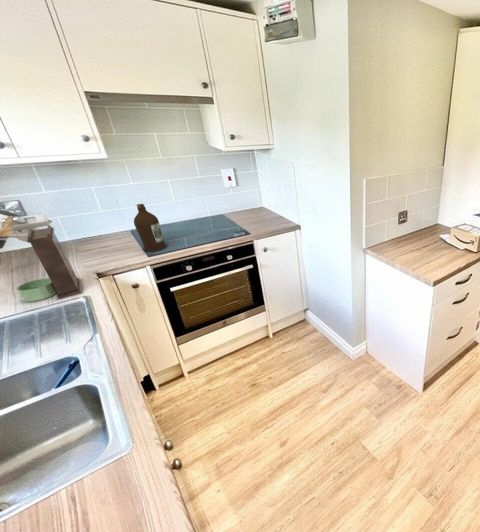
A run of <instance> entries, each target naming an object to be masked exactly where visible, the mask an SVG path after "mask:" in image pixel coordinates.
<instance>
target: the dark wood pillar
mask: <svg viewBox="0 0 480 532" xmlns="http://www.w3.org/2000/svg"><path fill="white" fill-rule="evenodd" d="M26 243H28V244H30V245H31V247H32V248H33V251H34V253H35V254H36V256H37V258H38V260H39V262H40V263H41V265H42V267H43V269H44V271H45V272H46V274H47V276H48V278H50V280H51V281H52V283H53V285H54V287H55V289H56V290H57V295H56V296H57V299H58V300H60V299H64V298H68V297H72V296H77V295H79V294H82V284H81V279H80V277H78V276H77V274H76V272H75V271H74V268H73V267H72V265H71V262H70V261H69V259H68V257H67V255H66V253H65V251H64V248H63V247H62V245H61V243H60V241H59V239H58V237H57V235H56V234H55V228H54V226H52V225H51V224H49V225H48V226H47V227H45V228H39V229H38V230H33V228H30V230H29V233H28V237H27V242H26Z"/></svg>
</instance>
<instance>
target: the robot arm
mask: <svg viewBox="0 0 480 532" xmlns="http://www.w3.org/2000/svg"><path fill="white" fill-rule="evenodd" d="M8 216H12V219H13V224H12V228H13V230H14V233H13V235H8V236H2V237H0V250H1V249H3V248H4V247H5V245H6V244H7V240H8V239H9V238H10V239H17V240H19V241H20V242H21V241H22V242H25V243H28V242H27V237H28V233H29V230H30V228H33V230H38V229H40V228H43V227H48V225H50V224H52V223H53V221H52V220H51V219H48V216H47V215H46V214H36V215H35V214H33V215H28V216H21V215H18V214H15V213H14V212H10V211H6V210H2V209H0V228H3V225H4V223H5V221H6V219H7V217H8Z"/></svg>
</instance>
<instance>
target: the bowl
mask: <svg viewBox="0 0 480 532" xmlns="http://www.w3.org/2000/svg"><path fill="white" fill-rule="evenodd" d="M16 291H17V293H18V294H19V296H20V298H21V299H22V301H24V302H38V301H44V300H47V299H49V298H51V297H53V296H55V295H56V294H58V292H57V290H56V289H55V287H54V285H53V283H52V281H51V280H50V278H49V277H44V278H38V279H33V280H29V281H26V282H23V283H22V284H20V285H19V286H17V287H16Z"/></svg>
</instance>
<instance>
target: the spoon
mask: <svg viewBox="0 0 480 532" xmlns="http://www.w3.org/2000/svg"><path fill="white" fill-rule="evenodd" d="M12 224H13V219H12V216H8V217H7V219H6V221H5V223H4V225H3V228H0V237H2V236H8V235H13V233H14V230H13V228H12Z"/></svg>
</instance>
